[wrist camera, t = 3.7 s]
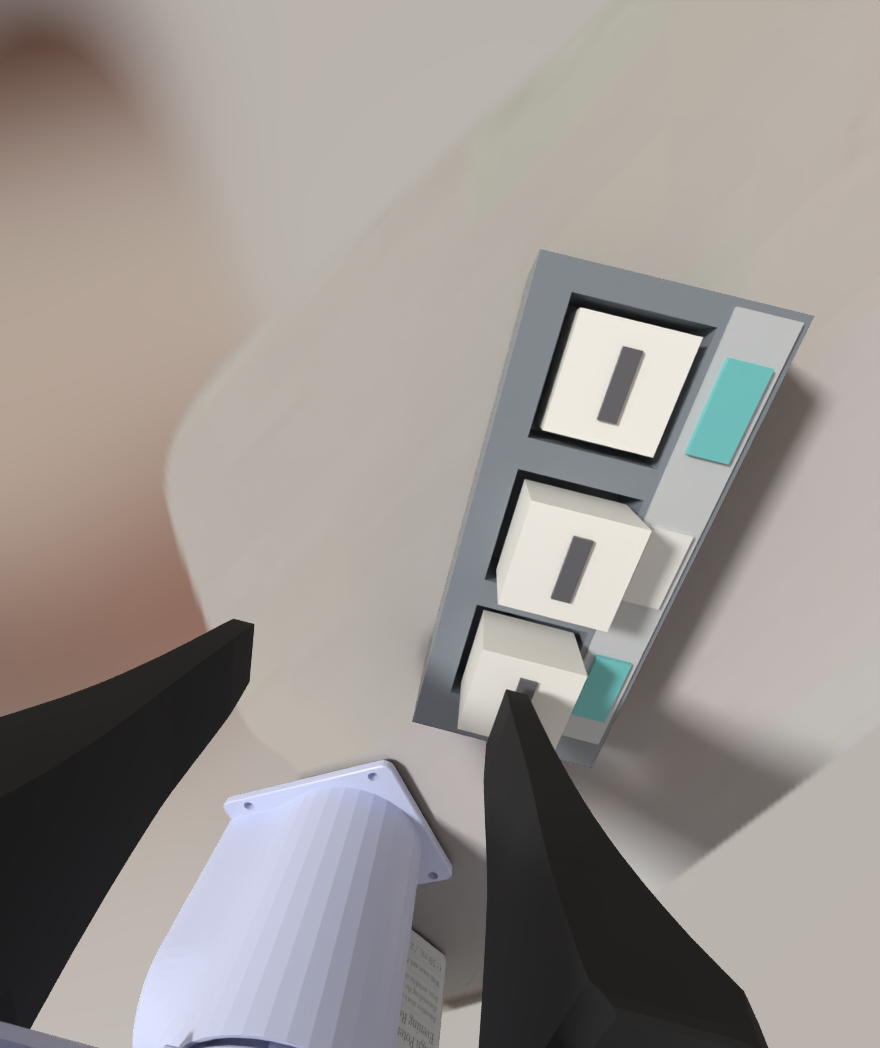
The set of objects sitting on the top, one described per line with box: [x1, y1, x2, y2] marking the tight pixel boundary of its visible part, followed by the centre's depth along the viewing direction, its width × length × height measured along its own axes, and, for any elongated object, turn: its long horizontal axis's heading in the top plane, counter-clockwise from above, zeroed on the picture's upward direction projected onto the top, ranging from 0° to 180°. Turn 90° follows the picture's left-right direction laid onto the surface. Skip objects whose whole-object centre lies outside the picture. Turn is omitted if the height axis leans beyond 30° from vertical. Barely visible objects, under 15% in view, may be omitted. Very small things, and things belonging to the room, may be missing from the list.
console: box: [412, 249, 814, 768], centre depth 14 cm, size 15×7×3 cm, turn 167°
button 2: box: [535, 308, 703, 458], centre depth 12 cm, size 3×3×2 cm
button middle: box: [496, 479, 652, 632], centre depth 12 cm, size 3×3×2 cm
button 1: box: [457, 610, 588, 749], centre depth 14 cm, size 3×3×2 cm
